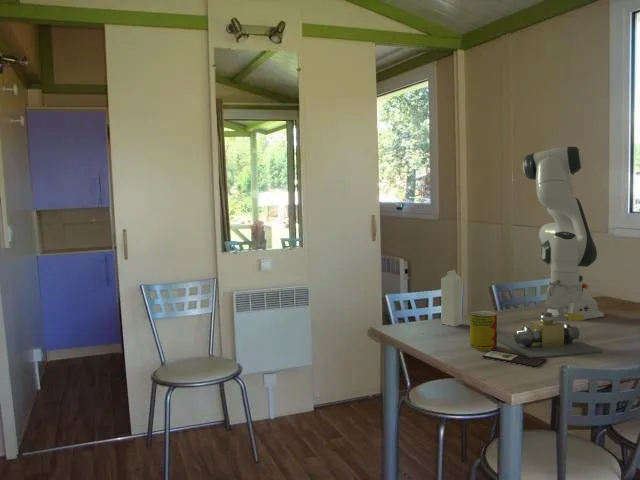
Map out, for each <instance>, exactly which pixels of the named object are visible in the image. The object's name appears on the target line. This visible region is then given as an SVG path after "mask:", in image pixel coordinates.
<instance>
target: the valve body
mask: <svg viewBox="0 0 640 480" xmlns="http://www.w3.org/2000/svg"><path fill="white" fill-rule="evenodd" d="M513 337H514V339H515V342H516V343H517V344H523V345H524V346H526V347H527V346H531V345H532V344H534V345H536V346H538V347H540V348H554V347H564V343H571V342H572V341H573V339H576V340H579V338H580V330H579V328H578V327H577V326H572V325H570V323H569V324H568V323H560V322H559V321H555V322H553V323H542V322H541V319H540V320H530V321H529V327H528V326H524V327H521V328H520V330H515V332H514V334H513Z"/></svg>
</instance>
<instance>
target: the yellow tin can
mask: <svg viewBox="0 0 640 480" xmlns="http://www.w3.org/2000/svg"><path fill="white" fill-rule="evenodd" d="M469 318H470V319H469V327H470V328H469V335H470V336H469V342H470V343H469V346H471V347H472V348H475V349H478V350H477V351H481V350H490V351H492V350H493V349H495V350H496V349H497V348H498V341H497V338H498V333H497V332H498V313H497V312H495V311H492V310H483V309H482V310H473V311H470V312H469ZM471 347H470V348H471ZM472 348H471V349H472ZM475 349H474V350H475Z"/></svg>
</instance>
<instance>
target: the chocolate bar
mask: <svg viewBox="0 0 640 480" xmlns="http://www.w3.org/2000/svg"><path fill="white" fill-rule="evenodd" d="M482 357H484V358H483V359H485V358H489V359H488V360H490V359H494V360H493V361H496V360H500V361H499V362H501V361H506V362H505V363H507V362H511V363H510V364H512V363H516V364H515V365H518V364H521V365H520V366H523V365H526V366H525V367H529V366H532V367H531V368H535V367H538V366H539V367H540V366H542V365H543V364H544V363H546V362H547V361H548V358H538V357H531V358H529V357H527V356H525V355H521V354H520V353H512V352H507V351H504V350H503V351H501V350H496V349H495V350H490V351H488V352H487V353H485V354H484V355H482V356H481V358H482ZM546 360H547V361H546ZM545 361H546V362H545ZM541 364H542V365H541ZM539 367H538V368H539Z"/></svg>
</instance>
